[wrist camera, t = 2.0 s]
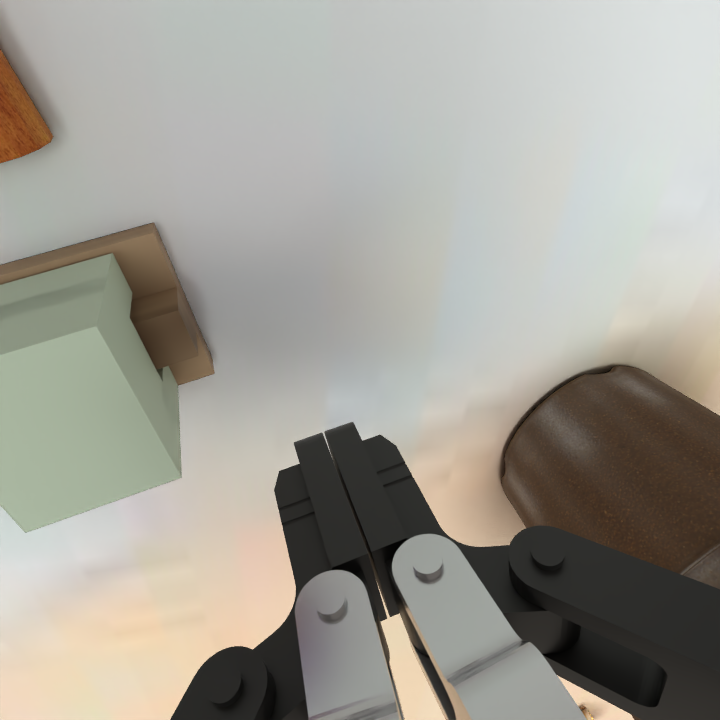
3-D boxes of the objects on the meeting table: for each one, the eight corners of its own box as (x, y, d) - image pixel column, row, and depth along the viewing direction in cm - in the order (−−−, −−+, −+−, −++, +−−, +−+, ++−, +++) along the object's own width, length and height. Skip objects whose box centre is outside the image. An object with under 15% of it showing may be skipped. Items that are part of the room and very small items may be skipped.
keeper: (-39, 295, 17) (-107, 387, 13) (112, 252, 18) (96, 325, 14) (54, 425, 21) (25, 533, 16) (178, 385, 22) (181, 477, 17)
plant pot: (726, 380, 36) (1038, 577, 23) (577, 540, 41) (765, 774, 28) (587, 293, 28) (951, 523, 15) (424, 506, 33) (590, 812, 20)
